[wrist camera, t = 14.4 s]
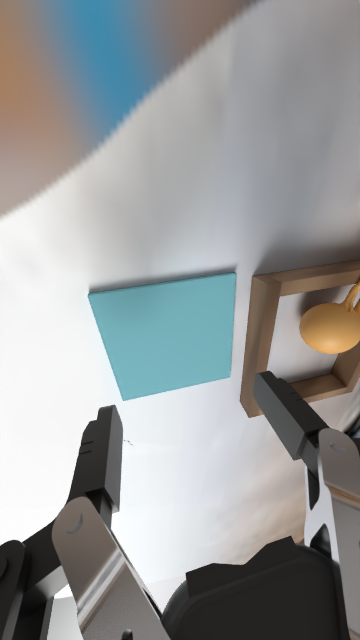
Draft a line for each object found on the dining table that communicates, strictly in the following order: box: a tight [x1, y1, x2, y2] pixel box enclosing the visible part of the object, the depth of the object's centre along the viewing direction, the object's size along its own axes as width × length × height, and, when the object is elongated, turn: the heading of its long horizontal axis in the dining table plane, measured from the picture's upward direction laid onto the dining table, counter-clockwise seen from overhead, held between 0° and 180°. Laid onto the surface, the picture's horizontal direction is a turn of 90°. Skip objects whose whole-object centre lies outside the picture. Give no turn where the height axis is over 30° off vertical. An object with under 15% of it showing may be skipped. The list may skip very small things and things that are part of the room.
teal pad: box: [88, 272, 236, 401], centre depth 16 cm, size 10×10×1 cm
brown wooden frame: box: [240, 260, 360, 418], centre depth 18 cm, size 12×14×2 cm
